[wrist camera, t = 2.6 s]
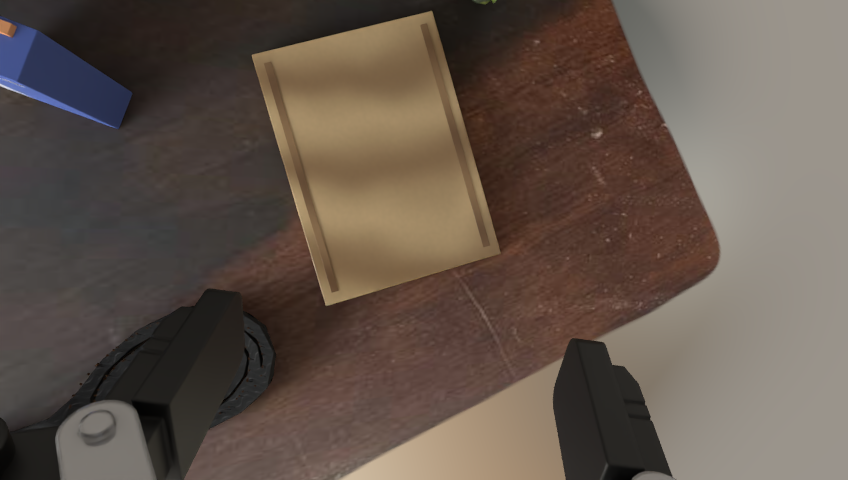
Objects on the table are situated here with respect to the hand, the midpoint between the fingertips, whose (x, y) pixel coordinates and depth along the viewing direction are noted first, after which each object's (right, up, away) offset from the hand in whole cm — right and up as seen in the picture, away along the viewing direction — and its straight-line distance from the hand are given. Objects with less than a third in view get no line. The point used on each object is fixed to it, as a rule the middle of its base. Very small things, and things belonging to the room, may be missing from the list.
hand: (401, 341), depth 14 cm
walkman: (-24, +13, +25) cm, 36 cm away
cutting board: (-3, +8, +27) cm, 28 cm away
